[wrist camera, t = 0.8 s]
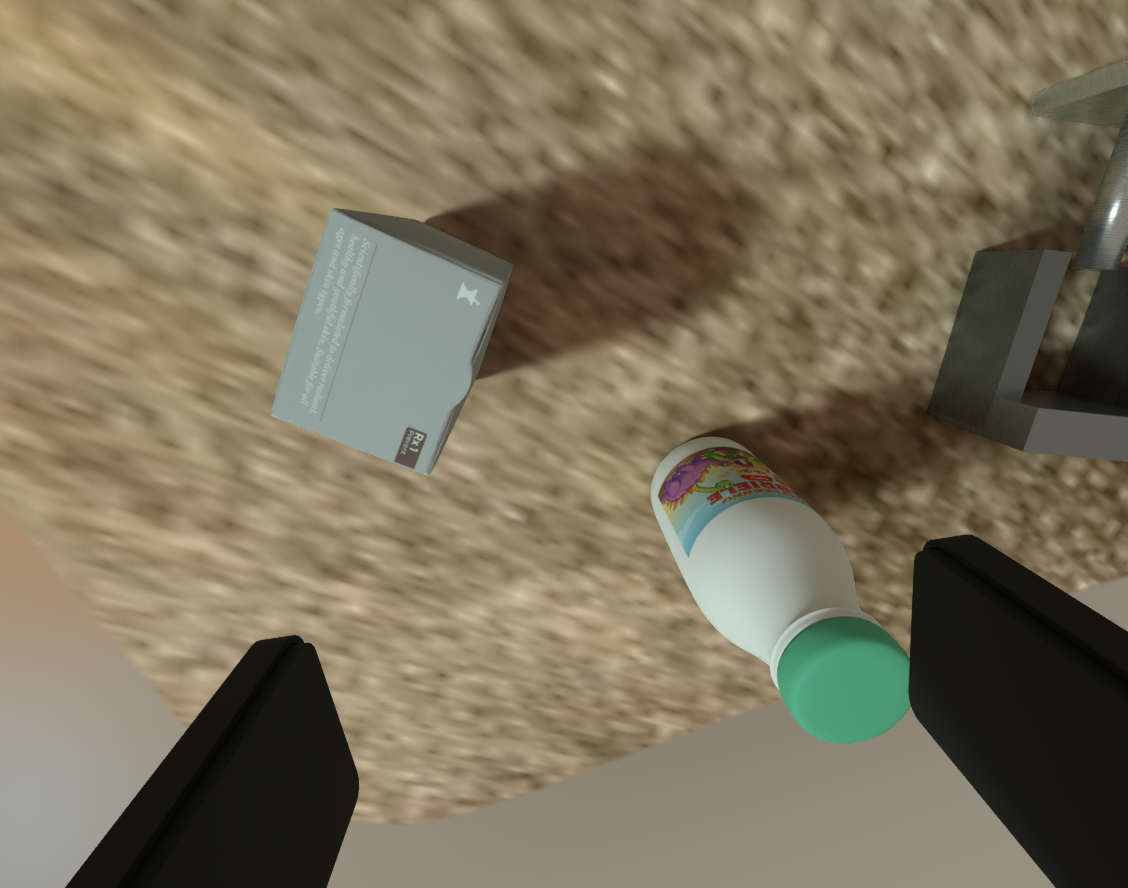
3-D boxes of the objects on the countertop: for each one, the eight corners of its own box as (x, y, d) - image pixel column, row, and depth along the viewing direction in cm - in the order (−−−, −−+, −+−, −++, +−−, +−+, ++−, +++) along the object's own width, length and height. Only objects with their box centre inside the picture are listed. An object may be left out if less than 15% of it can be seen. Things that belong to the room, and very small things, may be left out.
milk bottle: (762, 528, 40) (961, 765, 21) (655, 546, 40) (754, 797, 21) (756, 425, 38) (973, 584, 19) (642, 443, 38) (741, 621, 19)
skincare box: (417, 219, 33) (310, 177, 18) (528, 270, 34) (515, 272, 19) (371, 351, 35) (242, 412, 20) (477, 395, 37) (429, 485, 21)
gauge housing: (975, 252, 35) (1097, 247, 27) (1127, 270, 35) (1286, 270, 28) (926, 414, 38) (1022, 451, 30) (1066, 428, 38) (1195, 468, 31)
